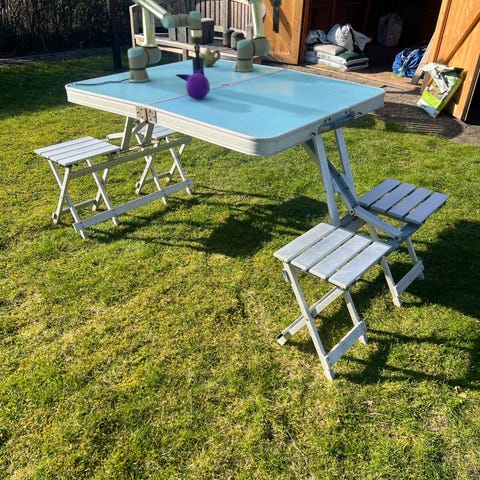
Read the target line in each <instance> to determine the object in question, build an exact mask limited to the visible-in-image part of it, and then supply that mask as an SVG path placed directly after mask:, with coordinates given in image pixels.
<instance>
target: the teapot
mask: <svg viewBox="0 0 480 480" xmlns="http://www.w3.org/2000/svg"><path fill="white" fill-rule="evenodd" d="M204 52H205V53H199V57H203V65H204V67H206V68H208V67H210V68H211V67H213V66H214V65H215V64H216V62H218V61H219V60H220V59H221V51H220V50H219V49H218V48H217V49H214V50H213V51H212V50H211V49H210V47H206V50H205V51H204ZM215 55H216V56H215Z"/></svg>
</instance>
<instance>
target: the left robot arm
mask: <svg viewBox="0 0 480 480" xmlns="http://www.w3.org/2000/svg"><path fill="white" fill-rule="evenodd" d="M131 1H132V3H134V4H135V5H137V6H140V7H141V18H142V34H143V42H142V43H141V46H133V47H130V48H129V49H127V57H128V66H129V76H128V78H124V79H122V80H108V81H104V82H99V83H76V82H71V83H70V84H72V85H75V86H76V85H77V86H98V85H99V86H100V85H103V84H108V83H109V84H110V83H122V82H125V81H128V82H129V83H133V84H141V83H148V82H150V76H149V74H148V71H147V67H146V66H147V65H153V64H154V65H155V64H157V63H159V62H160V60H161V59H162V50H161V49H160V47H159V46H158V44H157V42H156V25H155V18H156V19H157V20H159V21H160V22H161V24H162V26H163V27H164V28H165V29H170V30H171V29H175V28H184V27H186V28H190V31H189V34H190V42H191V44H194V46H193V48H194V53H195V57H196V63H195V64H196V71H197V70H200V60H199V55H200V54H201V45H199V44H202V43H203V37H202V36H203V29H202V14H201V12H200V11H198V10H194V11H193V10H192V11H189V14H185V13H179V14H172V13H170V12H169V11H167V10H166V9H164V7H162V6H161V5H160V4H158V3H157V0H131ZM73 83H75V84H73ZM70 86H71V85H69V84H67V87H70Z"/></svg>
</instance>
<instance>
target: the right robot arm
mask: <svg viewBox="0 0 480 480" xmlns="http://www.w3.org/2000/svg"><path fill="white" fill-rule="evenodd" d="M282 2H283V1H282V0H270V6H271V7H272V19H271V20H272V32H274V34H280V6H282V5H283V4H282ZM262 3H263V0H247V4H248V5H249V6H250V15H251V24H252V33H253V37H252V38H246V39H241V40H238V41H237V43H236V64H235V66H234V72H237V73H250V72H254V71H255V68H254V65H253V61H252V57H264V56H265V57H266V56H267V55H268V54H269V53H270V49H271V47H270V46H271V45H270V43H271V42H270V39H269V40H268V39H267V36H266V35H265V30H264V29H265V28H264V21H263V19H264V18H263V11H262Z"/></svg>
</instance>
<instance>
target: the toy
mask: <svg viewBox="0 0 480 480" xmlns="http://www.w3.org/2000/svg"><path fill="white" fill-rule="evenodd" d="M175 76H176V77H177V78H179V79H182V80H183V81H185V82H186V84H185V89H186V93H187V95H188V96H189V97H190V98H191V99H194V100H203V99H205V98H206V96H208V94H209V92H210V89H211V86H210V85H211V84H210V81H209V79H208V78H207V76H206V75H205V70H204V71H203V70H197V71H194V72H193V71H192V74H181V73H179V74H175Z"/></svg>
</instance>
